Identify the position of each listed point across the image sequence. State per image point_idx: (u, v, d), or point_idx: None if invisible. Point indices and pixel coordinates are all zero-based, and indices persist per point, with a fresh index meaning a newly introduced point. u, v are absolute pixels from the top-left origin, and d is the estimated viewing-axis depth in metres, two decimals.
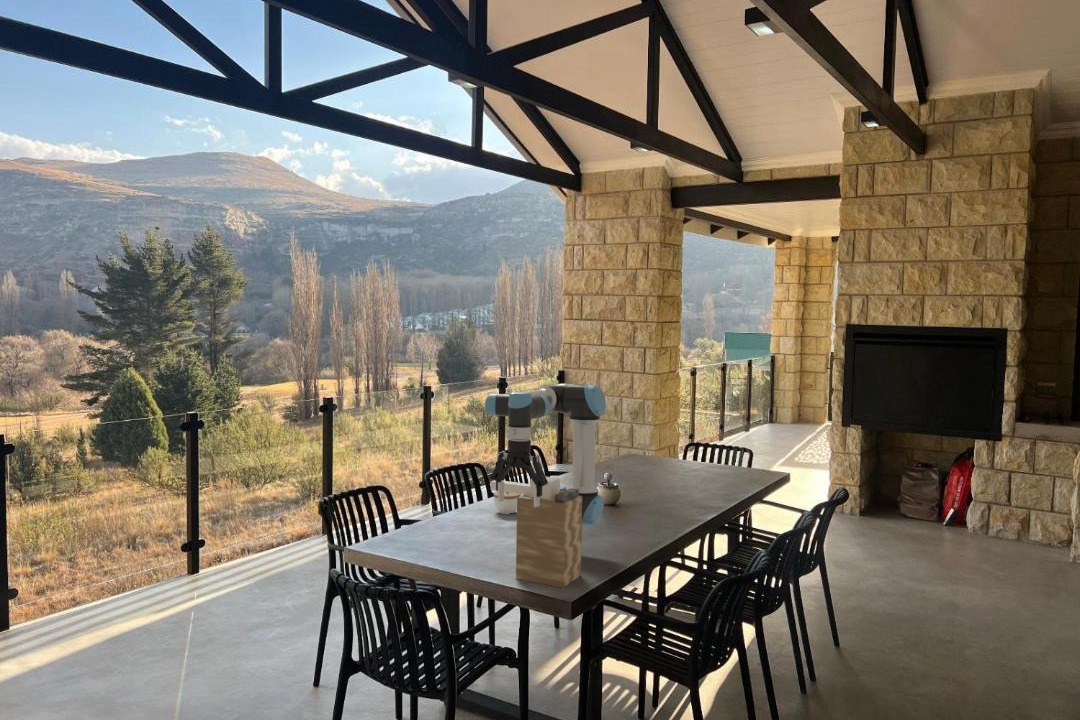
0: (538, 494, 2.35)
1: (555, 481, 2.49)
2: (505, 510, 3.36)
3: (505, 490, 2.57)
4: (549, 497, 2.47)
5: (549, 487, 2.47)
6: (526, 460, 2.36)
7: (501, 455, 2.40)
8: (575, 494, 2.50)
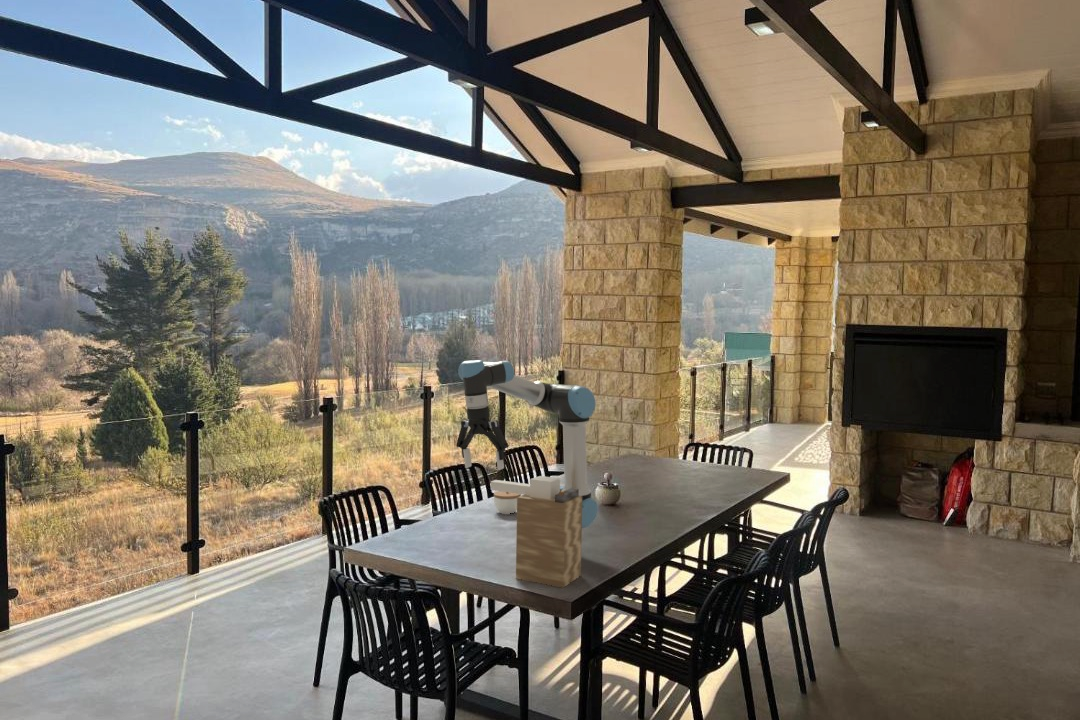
0: (500, 457, 2.41)
1: (555, 481, 2.49)
2: (505, 510, 3.36)
3: (505, 490, 2.57)
4: (549, 497, 2.47)
5: (549, 487, 2.47)
6: (485, 426, 2.42)
7: (462, 423, 2.47)
8: (575, 494, 2.50)
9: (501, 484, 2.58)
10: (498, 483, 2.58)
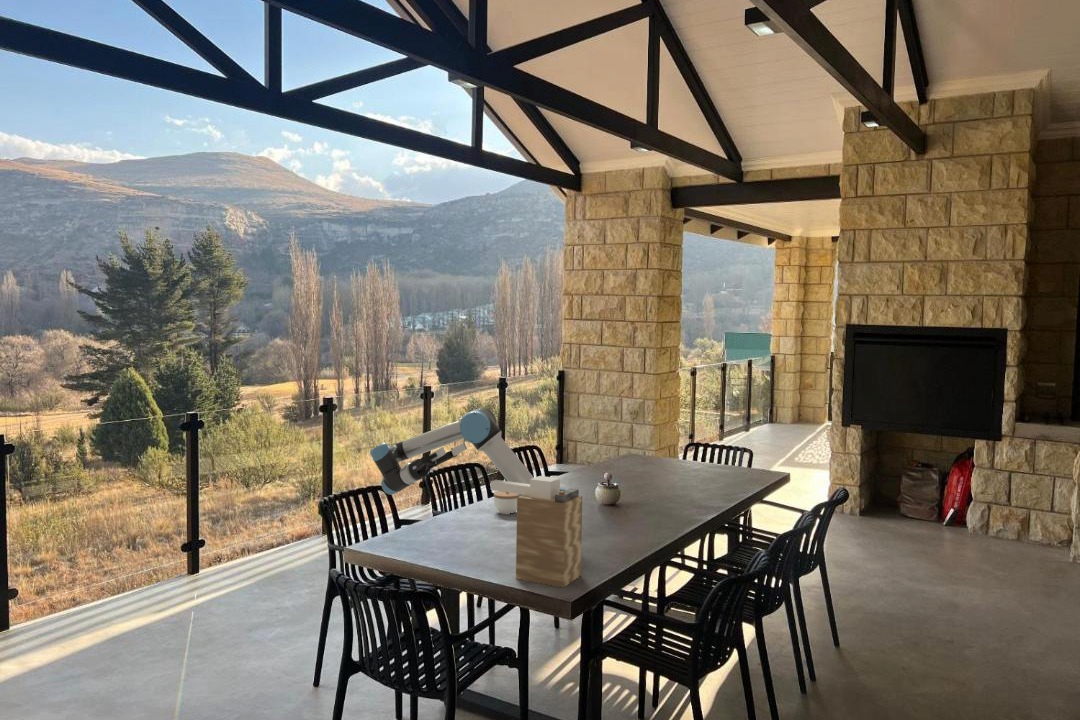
0: (434, 457, 2.64)
1: (555, 481, 2.49)
2: (505, 510, 3.36)
3: (505, 490, 2.57)
4: (549, 497, 2.47)
5: (549, 487, 2.47)
6: (422, 468, 2.72)
7: (436, 465, 2.81)
8: (575, 494, 2.50)
9: (501, 484, 2.58)
10: (498, 483, 2.58)
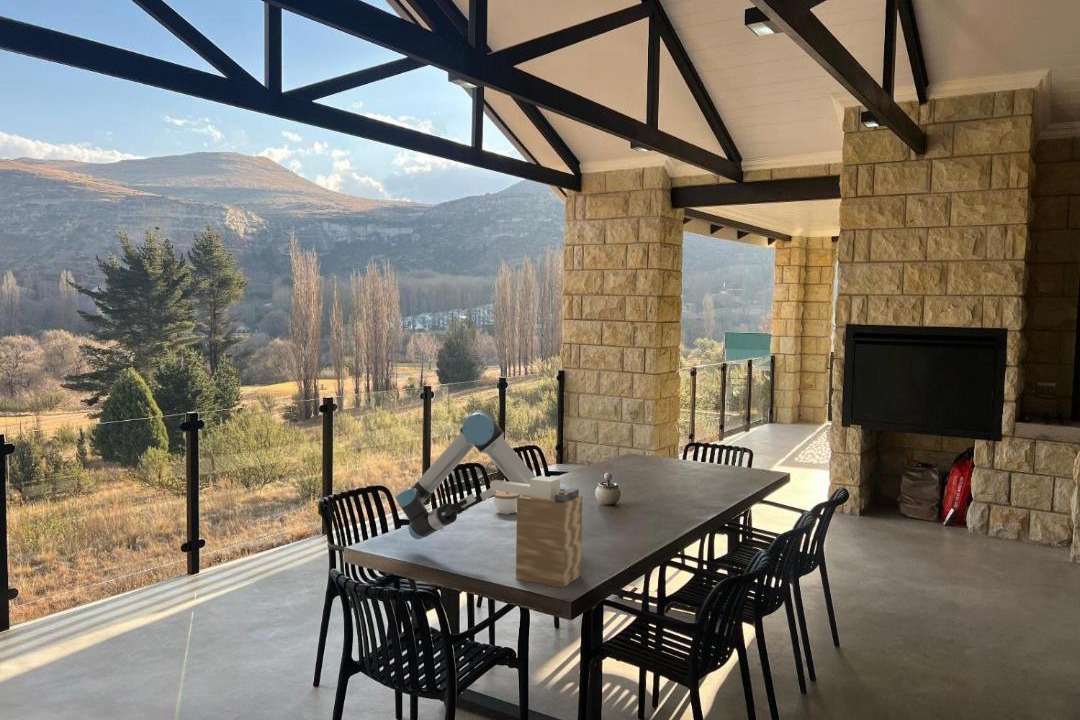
0: (464, 504, 2.58)
1: (555, 481, 2.49)
2: (505, 510, 3.36)
3: (505, 490, 2.57)
4: (549, 497, 2.47)
5: (549, 487, 2.47)
6: (451, 514, 2.66)
7: None
8: (575, 494, 2.50)
9: (501, 484, 2.58)
10: (498, 483, 2.58)
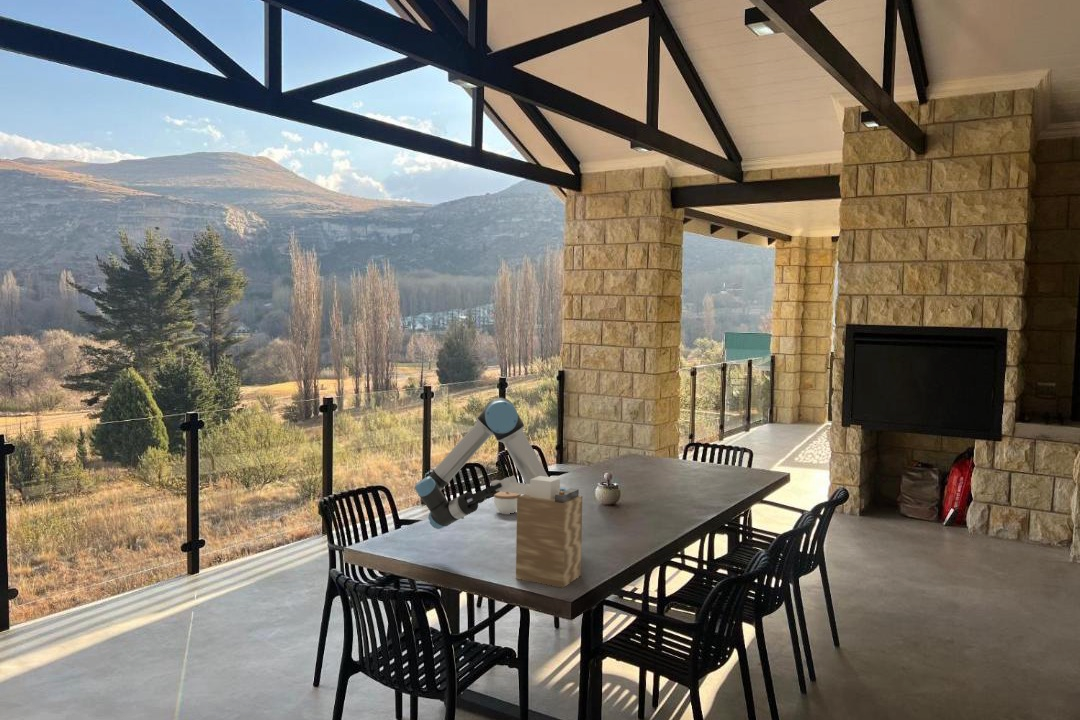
0: (499, 487, 2.57)
1: (555, 481, 2.49)
2: (505, 510, 3.36)
3: (505, 490, 2.57)
4: (549, 497, 2.47)
5: (549, 487, 2.47)
6: (473, 502, 2.62)
7: None
8: (575, 494, 2.50)
9: None
10: None
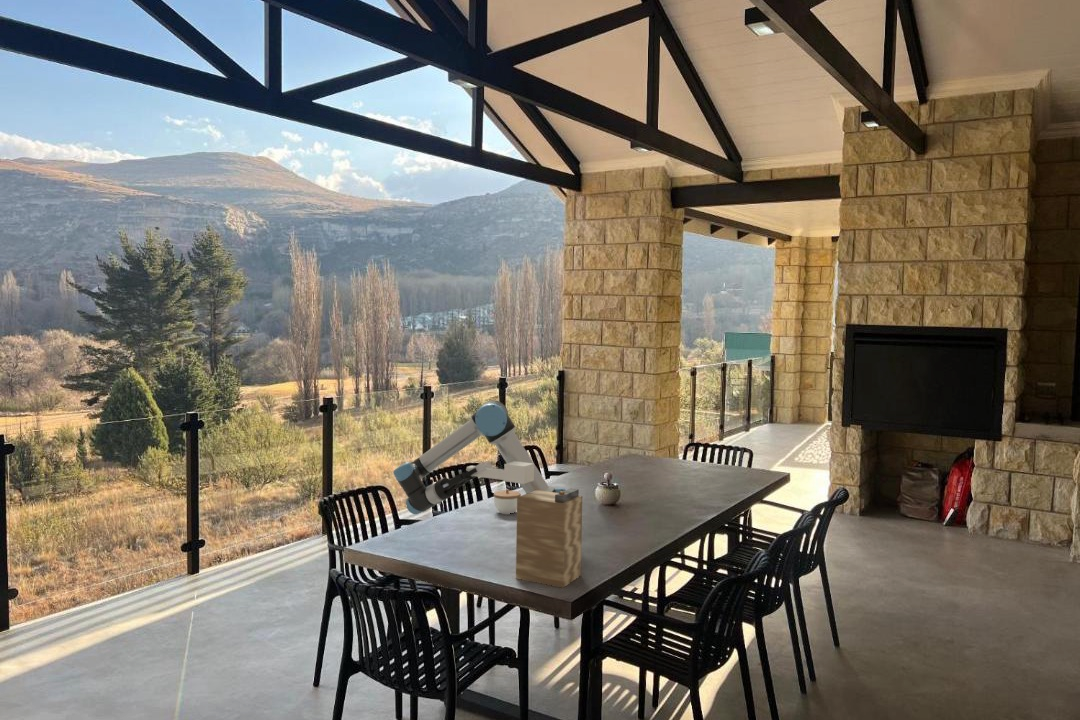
0: (474, 472, 2.61)
1: (529, 466, 2.54)
2: (505, 510, 3.36)
3: (480, 475, 2.61)
4: (523, 481, 2.51)
5: (523, 471, 2.51)
6: (449, 487, 2.66)
7: (464, 483, 2.73)
8: (575, 494, 2.50)
9: None
10: None
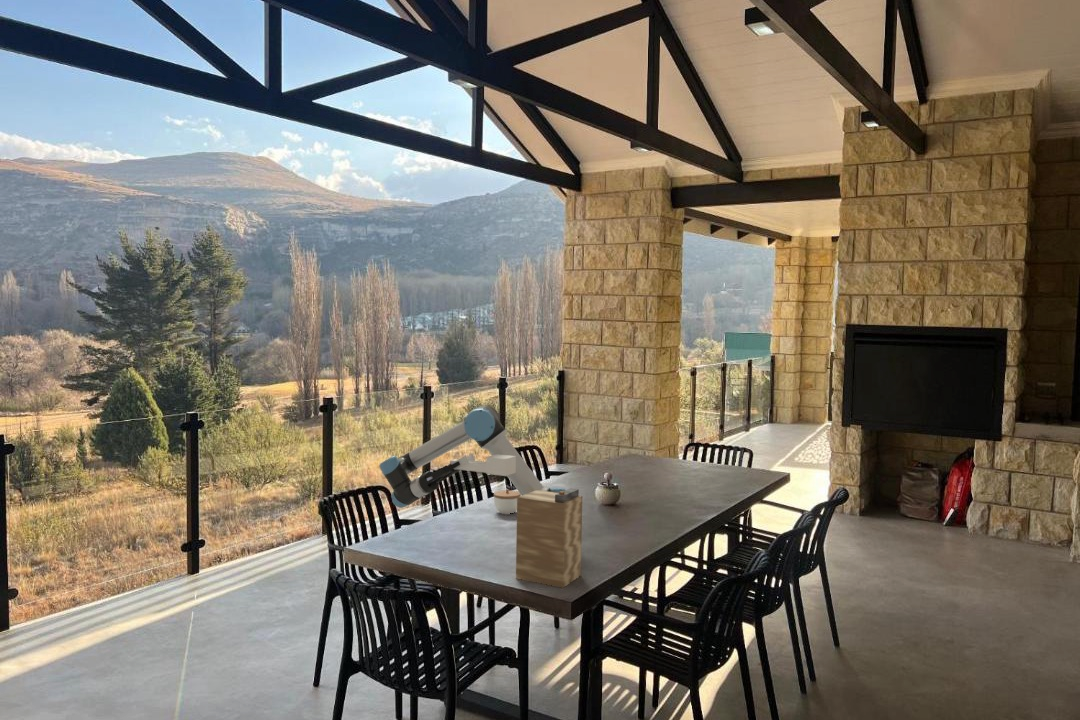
0: (457, 465, 2.65)
1: (510, 458, 2.58)
2: (505, 510, 3.36)
3: (463, 468, 2.65)
4: (504, 474, 2.55)
5: (504, 464, 2.55)
6: (433, 481, 2.70)
7: (448, 476, 2.78)
8: (575, 494, 2.50)
9: None
10: None
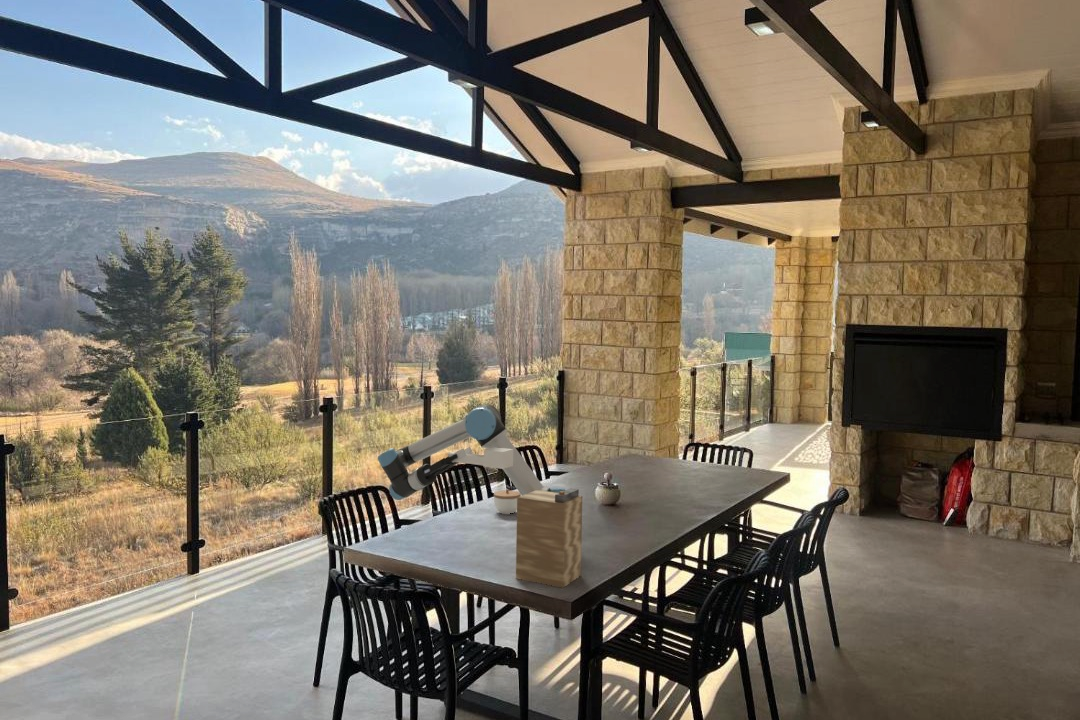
0: (455, 458, 2.65)
1: (508, 451, 2.58)
2: (505, 510, 3.36)
3: (461, 461, 2.66)
4: (501, 467, 2.55)
5: (502, 457, 2.55)
6: (431, 473, 2.71)
7: (446, 469, 2.78)
8: (575, 494, 2.50)
9: None
10: None
